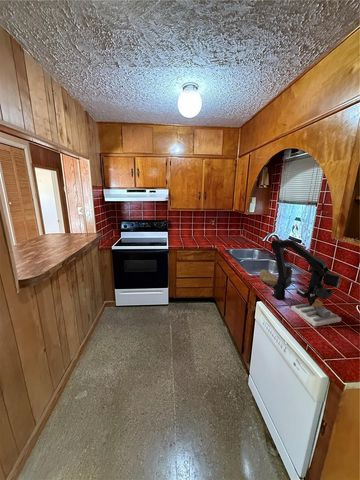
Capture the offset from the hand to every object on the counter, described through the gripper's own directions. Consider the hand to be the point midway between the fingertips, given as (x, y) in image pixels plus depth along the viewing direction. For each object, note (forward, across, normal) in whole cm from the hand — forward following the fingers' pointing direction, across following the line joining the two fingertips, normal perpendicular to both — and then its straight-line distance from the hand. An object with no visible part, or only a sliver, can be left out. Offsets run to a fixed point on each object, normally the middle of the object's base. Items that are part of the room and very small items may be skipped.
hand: (310, 304), depth 116 cm
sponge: (+4, +1, +38) cm, 38 cm away
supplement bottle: (+4, +16, +37) cm, 41 cm away
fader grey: (+2, 0, -8) cm, 8 cm away
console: (+4, 0, -4) cm, 6 cm away
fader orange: (+2, +4, 0) cm, 4 cm away
